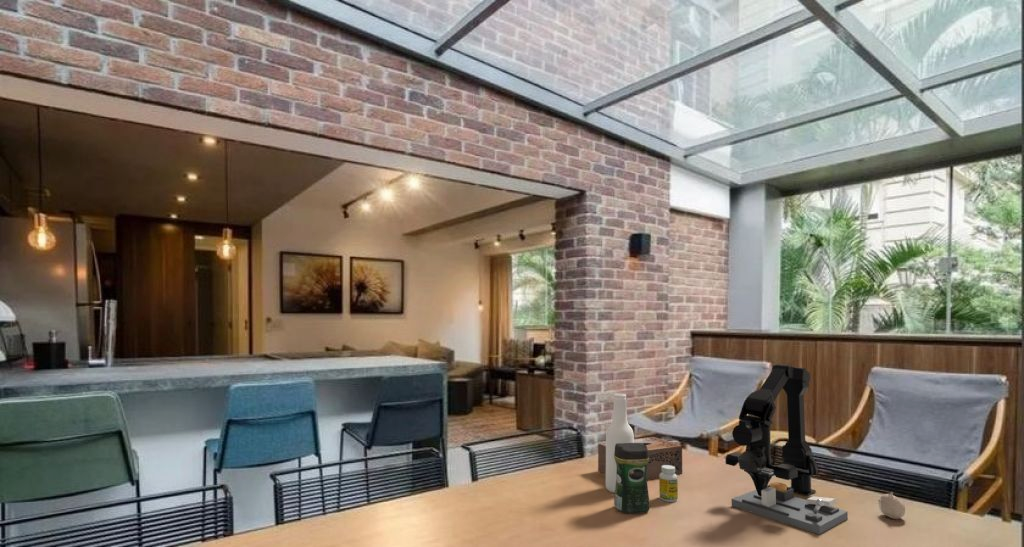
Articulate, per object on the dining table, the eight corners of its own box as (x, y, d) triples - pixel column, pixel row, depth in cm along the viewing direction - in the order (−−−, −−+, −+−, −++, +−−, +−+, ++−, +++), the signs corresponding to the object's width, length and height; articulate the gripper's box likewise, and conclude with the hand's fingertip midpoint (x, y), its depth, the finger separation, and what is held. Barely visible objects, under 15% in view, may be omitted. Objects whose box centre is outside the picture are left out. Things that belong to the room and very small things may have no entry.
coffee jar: (641, 503, 152) (641, 439, 153) (653, 514, 144) (653, 446, 145) (610, 505, 150) (610, 440, 152) (620, 515, 142) (620, 447, 144)
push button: (774, 491, 158) (774, 481, 158) (789, 495, 154) (789, 485, 154) (767, 494, 155) (767, 483, 155) (782, 498, 151) (782, 487, 152)
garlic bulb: (873, 514, 147) (872, 486, 147) (887, 511, 149) (886, 483, 150) (898, 523, 141) (897, 493, 141) (912, 520, 143) (911, 490, 144)
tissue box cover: (653, 463, 194) (653, 436, 195) (682, 474, 181) (682, 445, 182) (598, 472, 182) (598, 443, 183) (624, 484, 170) (624, 453, 170)
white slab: (813, 500, 148) (812, 496, 149) (836, 503, 144) (835, 498, 144) (807, 503, 146) (806, 499, 146) (830, 506, 141) (829, 501, 142)
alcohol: (635, 487, 166) (635, 393, 168) (632, 496, 158) (632, 397, 160) (607, 483, 169) (608, 391, 171) (603, 492, 161) (604, 395, 163)
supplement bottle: (667, 495, 160) (667, 463, 160) (681, 500, 155) (681, 467, 156) (655, 498, 157) (655, 465, 157) (669, 503, 152) (669, 470, 153)
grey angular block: (770, 502, 149) (770, 486, 149) (775, 504, 148) (775, 488, 148) (761, 506, 146) (761, 490, 146) (767, 507, 145) (767, 491, 145)
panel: (762, 493, 162) (762, 479, 163) (847, 518, 143) (847, 502, 144) (731, 505, 151) (731, 490, 152) (819, 534, 132) (819, 516, 133)
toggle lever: (812, 509, 138) (819, 496, 137) (819, 514, 137) (826, 501, 136) (809, 511, 137) (816, 498, 136) (816, 516, 136) (823, 502, 135)
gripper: (714, 437, 153) (715, 491, 152) (778, 452, 138) (779, 512, 137) (735, 433, 159) (735, 484, 158) (797, 446, 144) (799, 503, 143)
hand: (760, 495), depth 149 cm, fingers closed
